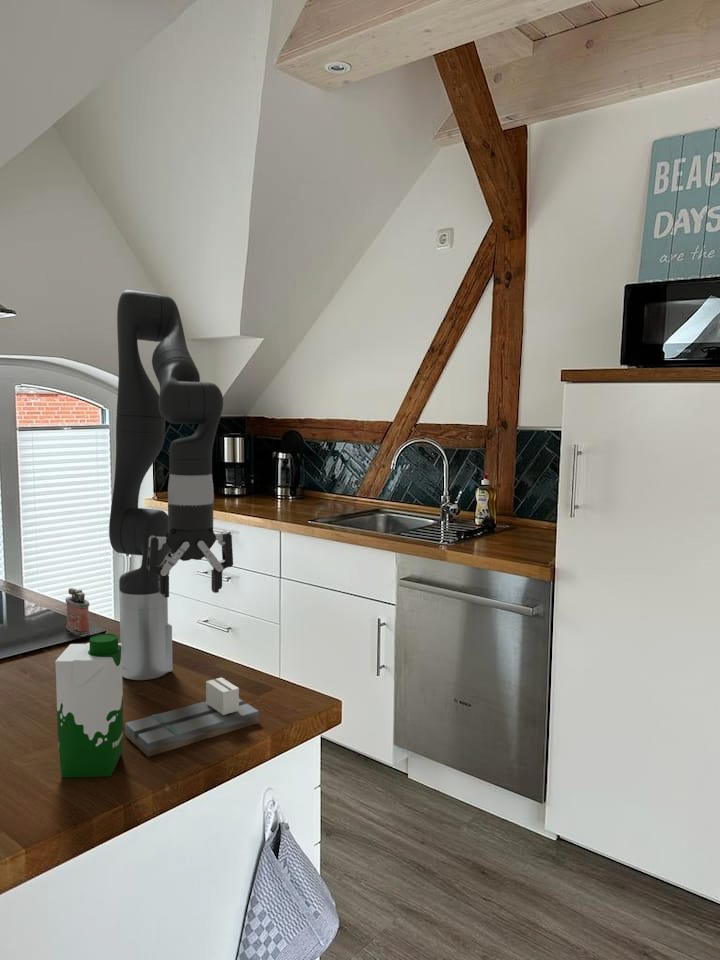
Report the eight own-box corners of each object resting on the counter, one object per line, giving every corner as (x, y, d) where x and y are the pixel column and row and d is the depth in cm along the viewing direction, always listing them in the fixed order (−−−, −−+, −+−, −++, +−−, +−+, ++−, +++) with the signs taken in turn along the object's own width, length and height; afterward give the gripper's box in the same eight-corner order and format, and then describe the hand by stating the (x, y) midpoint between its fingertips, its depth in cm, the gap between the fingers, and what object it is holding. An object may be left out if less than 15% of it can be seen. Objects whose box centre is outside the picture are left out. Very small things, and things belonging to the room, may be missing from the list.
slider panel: (232, 705, 137) (232, 693, 137) (258, 723, 130) (258, 710, 130) (125, 735, 125) (125, 722, 125) (148, 756, 118) (147, 742, 118)
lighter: (93, 634, 175) (92, 592, 174) (79, 637, 173) (78, 594, 171) (76, 626, 180) (75, 585, 179) (63, 629, 178) (61, 587, 177)
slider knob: (221, 705, 134) (221, 676, 134) (238, 717, 130) (238, 687, 129) (206, 709, 132) (206, 680, 132) (223, 721, 128) (223, 691, 127)
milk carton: (115, 779, 111) (113, 647, 108) (51, 781, 110) (47, 648, 108) (128, 751, 120) (126, 628, 117) (69, 752, 119) (66, 628, 116)
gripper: (225, 496, 135) (224, 585, 136) (143, 499, 128) (144, 592, 130) (238, 501, 128) (237, 595, 130) (152, 504, 122) (152, 603, 123)
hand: (190, 594), depth 130 cm, fingers open, 8 cm apart
